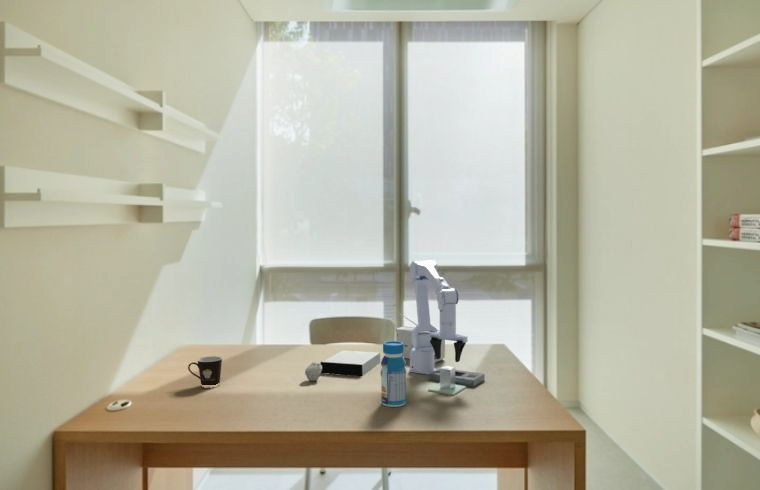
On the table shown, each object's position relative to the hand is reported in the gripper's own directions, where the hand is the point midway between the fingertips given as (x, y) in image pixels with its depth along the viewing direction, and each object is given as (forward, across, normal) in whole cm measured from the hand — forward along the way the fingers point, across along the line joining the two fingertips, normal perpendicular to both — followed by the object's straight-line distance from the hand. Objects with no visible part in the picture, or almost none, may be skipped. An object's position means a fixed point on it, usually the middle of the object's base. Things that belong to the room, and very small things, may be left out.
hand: (447, 360), depth 200 cm
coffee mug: (+10, -77, -44) cm, 89 cm away
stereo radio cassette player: (+10, -29, +31) cm, 44 cm away
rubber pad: (+10, +1, -2) cm, 10 cm away
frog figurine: (+10, -47, -19) cm, 52 cm away
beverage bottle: (+10, -7, -26) cm, 28 cm away
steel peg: (+9, +1, -2) cm, 9 cm away
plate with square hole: (+10, -1, +10) cm, 14 cm away
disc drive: (+11, -46, +4) cm, 47 cm away
